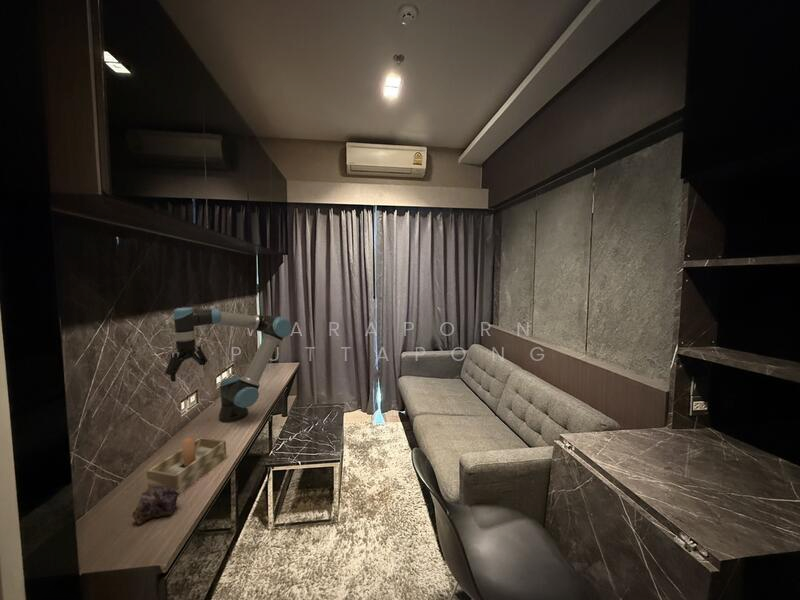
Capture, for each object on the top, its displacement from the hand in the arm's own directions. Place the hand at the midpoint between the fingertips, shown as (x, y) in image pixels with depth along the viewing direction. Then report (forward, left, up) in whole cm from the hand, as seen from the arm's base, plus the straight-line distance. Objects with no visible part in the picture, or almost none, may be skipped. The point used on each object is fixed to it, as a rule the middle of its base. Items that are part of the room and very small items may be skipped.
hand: (189, 382), depth 145 cm
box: (+18, +18, -32) cm, 41 cm away
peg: (+18, +18, -32) cm, 41 cm away
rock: (+38, +26, -32) cm, 56 cm away
